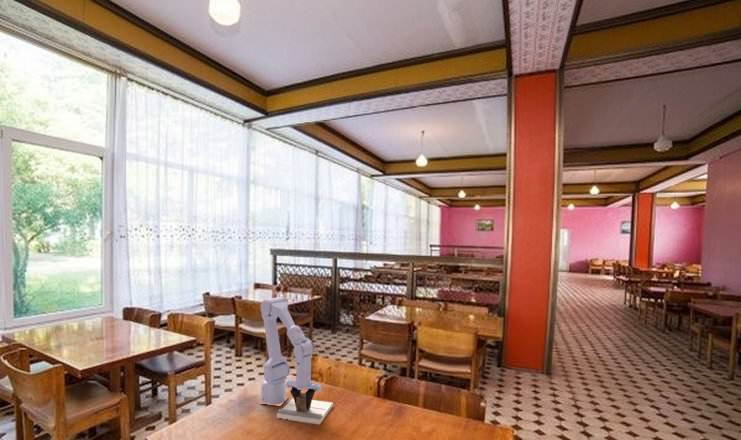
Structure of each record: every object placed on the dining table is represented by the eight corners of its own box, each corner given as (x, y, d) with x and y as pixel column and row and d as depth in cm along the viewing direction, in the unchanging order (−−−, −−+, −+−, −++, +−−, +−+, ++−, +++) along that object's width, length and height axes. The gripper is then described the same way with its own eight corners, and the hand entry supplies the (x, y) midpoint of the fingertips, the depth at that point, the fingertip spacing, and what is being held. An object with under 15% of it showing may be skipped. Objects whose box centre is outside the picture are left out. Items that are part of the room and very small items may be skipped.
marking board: (276, 418, 130) (276, 411, 130) (293, 401, 143) (293, 395, 143) (319, 424, 125) (319, 417, 125) (332, 406, 139) (332, 400, 139)
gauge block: (296, 412, 131) (296, 397, 131) (300, 407, 135) (301, 392, 135) (305, 414, 130) (305, 398, 130) (309, 409, 134) (310, 393, 134)
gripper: (282, 374, 131) (281, 410, 130) (316, 378, 127) (316, 414, 127) (290, 367, 138) (290, 401, 137) (323, 371, 134) (323, 405, 133)
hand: (303, 407), depth 132 cm, fingers closed on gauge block, 4 cm apart
